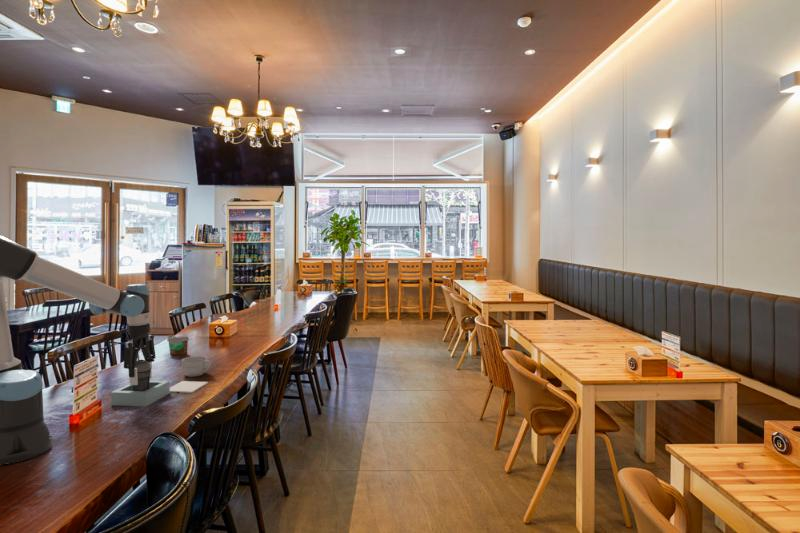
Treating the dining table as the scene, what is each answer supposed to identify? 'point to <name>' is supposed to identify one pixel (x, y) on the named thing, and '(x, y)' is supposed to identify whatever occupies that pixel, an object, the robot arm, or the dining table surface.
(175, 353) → the food container
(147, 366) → the beverage cup
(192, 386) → the grey mat
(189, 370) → the teacup
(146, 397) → the grey square tray
